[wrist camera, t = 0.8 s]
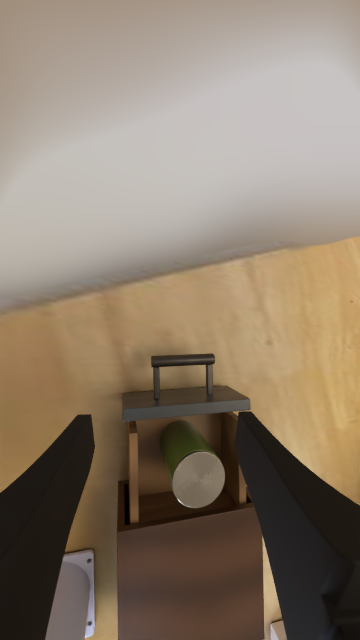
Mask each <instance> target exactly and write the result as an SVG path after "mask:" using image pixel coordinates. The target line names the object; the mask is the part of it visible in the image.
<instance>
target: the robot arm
mask: <svg viewBox="0 0 360 640" xmlns="http://www.w3.org/2000/svg"><path fill="white" fill-rule="evenodd" d="M234 444H235V448H236V453H237V457H238V461H239V465H240V468H241V471H242V474H243V477H244V480H245V482H246V485H247V488H248V491H249V494H250V497H251V499H252V502H253V505H254V508H255V511H256V514H257V517H258V520H259V523H260V527H261V531H262V534H263V538H264V542H265V546H266V550H267V554H268V558H269V562H270V566H271V570H272V574H273V579H274V583H275V587H276V592H277V596H278V601H279V605H280V609H281V614H282V619H283V623H284V628H285V633H286V638H287V640H360V506H359V505H358V504H356V503H355V502H353V501H352V500H350V499H349V498H347V497H346V496H344V495H343V494H341V493H340V492H339V491H337V490H336V489H334V488H333V487H331V486H330V485H329V484H327V483H326V482H325V481H323V480H322V479H321V478H319V477H318V476H317V475H316V474H315V473H313V472H312V471H311V470H310V469H308V468H307V467H306V466H305V465H304V464H302V463H301V462H300V461H299V460H298V459H297V458H296V457H295V456H293V455H292V454H291V453H290V452H289V451H288V450H287V449H286V448H285V447H284V446H283V445H282V444H281V443H280V442H279V441H278V440H277V439H276V438H275V437H274V436H273V435H272V434H271V433H270V432H269V431H268V430H267V428H266V427H265V426H264V425H263V424H262V423H261V422H260V421H259V420H258V419H257V418H256V416H255V415H254V414H253V413H252V412H239V414H238V421H237V428H236V435H235V443H234ZM94 449H95V444H94V435H93V426H92V418H91V414H90V415H77V416H76V417H75V418H74V420H73V421H72V422H71V423H70V424H69V425H68V427H67V428H66V429H65V430H64V431H63V432H62V434H61V435H60V436H59V437H58V438H57V439H56V440H55V441H54V442H53V444H52V445H51V446H50V447H49V448H48V449H47V450H46V451H45V452H44V453H43V454H42V455H41V456H40V457H39V458H38V459H37V460H36V461H35V462H34V463H33V464H32V465H31V466H30V467H29V468H28V469H27V470H26V471H25V472H24V473H23V474H22V475H21V476H20V477H18V478H17V479H16V480H15V481H14V482H13V483H12V484H10V485H9V486H8V487H7V488H6V489H5V490H3V491H2V492H1V493H0V640H84V639H85V638H86V637H90V636H92V635H93V634H94V630H95V602H94V551H93V550H91V549H89V550H84V551H79V552H74V553H69V554H64V553H65V548H66V544H67V540H68V536H69V533H70V529H71V526H72V522H73V519H74V516H75V513H76V510H77V507H78V504H79V501H80V498H81V495H82V492H83V489H84V486H85V483H86V480H87V477H88V474H89V471H90V467H91V463H92V458H93V454H94ZM88 559H91V560H88ZM89 621H91V622H89Z"/></svg>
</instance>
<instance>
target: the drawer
mask: <svg viewBox="0 0 360 640" xmlns="http://www.w3.org/2000/svg"><path fill="white" fill-rule="evenodd" d="M214 363H215V356H214V354H189V355H164V356H151V366H152V367H153V384H154V391H144V392H130V393H123V394H122V404H123V422H127V421H128V469H129V517H130V525H131V524H136V523H142V522H147V521H153V520H159V519H164V518H170V517H175V516H181V515H186V514H192V513H197V512H203V511H209V510H214V509H220V508H225V507H231V506H236V505H242V504H246V482H245V480H244V477H243V474H242V471H241V468H240V465H239V461H238V457H237V453H236V448H235V444H234V443H235V435H236V428H237V421H238V416H237V415H235V414H234V413H233V411H244V410H250V399H249V398H248V397H246V396H244V395H242V394H241V393H239V392H237V391H235V390H234V389H232V388H230V387H228V386H215V387H213V373H212V364H214ZM188 365H206V387H201V388H187V389H173V390H160V379H159V367H168V366H188ZM178 420H185V421H188V422H190V423H192V424H193V425H195V426H196V428H197V429H198V430H199V432H200V433H201V434H202V436H203V437H204V439H205V440H206V441H207V443H208V444H209V445H210V447H211V448H212V450H213V451H214V452H215V454H216V455H217V456H218V458H219V459H220V461H221V463H222V465H223V468H224V471H225V482H224V486H223V488H222V491H221V493H220V494H219V496H218V497H217V498H216V499H215V500H214V501H213V502H212V503H210V504H208V505H207V506H204V507H200V508H191V507H187V506H185V505H183V504H182V503H180V502H179V501H178V499H177V498H176V496H175V495H174V493H173V490H172V487H171V484H170V481H169V478H168V474H167V471H166V468H165V465H164V461H163V458H162V455H161V451H160V447H159V441H160V436H161V434H162V432H163V430H164V429H165V428H166V427H167V426H168V425H169V424H170V423H172V422H174V421H178Z"/></svg>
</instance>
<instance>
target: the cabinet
mask: <svg viewBox="0 0 360 640" xmlns="http://www.w3.org/2000/svg"><path fill="white" fill-rule="evenodd" d="M117 580H118V640H264V598H263V547H262V531H261V527H260V523H259V520H258V517H257V514H256V511H255V508H254V505H253V502H252V499H251V497H250V494H249V491H248V488H247V486H246V504H242V505H236V506H231V507H225V508H220V509H214V510H209V511H203V512H197V513H192V514H186V515H181V516H175V517H170V518H164V519H159V520H153V521H147V522H142V523H136V524H131V525H130V517H129V480H125V481H119V482H118V512H117Z"/></svg>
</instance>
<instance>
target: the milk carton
mask: <svg viewBox="0 0 360 640" xmlns="http://www.w3.org/2000/svg"><path fill="white" fill-rule="evenodd" d="M271 640H287V638H286V633H285V628H284V623H283V620H282V621H278V622H275V623H271Z"/></svg>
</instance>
